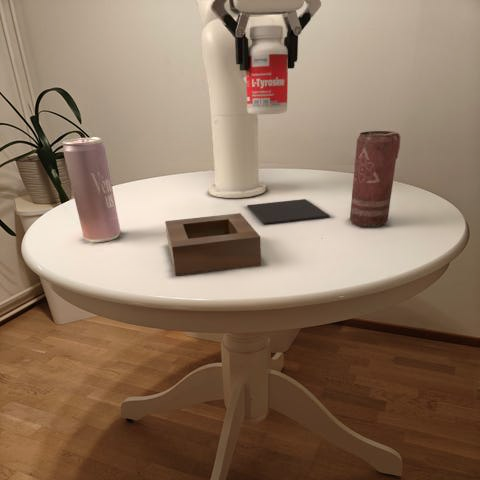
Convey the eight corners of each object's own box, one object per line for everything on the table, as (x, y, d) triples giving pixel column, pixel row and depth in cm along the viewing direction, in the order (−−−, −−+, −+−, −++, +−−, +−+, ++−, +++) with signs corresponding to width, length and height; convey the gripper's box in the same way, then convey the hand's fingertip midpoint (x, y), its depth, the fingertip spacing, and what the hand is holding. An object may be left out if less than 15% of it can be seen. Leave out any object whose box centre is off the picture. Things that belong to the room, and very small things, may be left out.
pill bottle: (248, 115, 62) (244, 25, 57) (246, 113, 68) (243, 30, 62) (289, 113, 62) (290, 22, 57) (285, 111, 68) (285, 28, 62)
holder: (168, 246, 65) (165, 221, 63) (241, 237, 67) (240, 212, 65) (175, 276, 55) (171, 246, 53) (261, 264, 57) (260, 236, 55)
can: (390, 228, 68) (404, 134, 61) (349, 227, 69) (358, 135, 62) (387, 217, 73) (399, 129, 66) (349, 216, 74) (357, 130, 67)
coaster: (247, 207, 82) (247, 205, 82) (305, 201, 85) (305, 199, 84) (263, 224, 72) (263, 222, 72) (329, 217, 74) (329, 215, 74)
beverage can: (105, 229, 74) (86, 136, 66) (128, 234, 71) (111, 138, 63) (76, 239, 70) (52, 141, 62) (99, 245, 66) (77, 143, 59)
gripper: (320, -87, 57) (313, 67, 67) (194, -89, 55) (205, 71, 64) (343, -106, 51) (331, 67, 61) (202, -109, 48) (212, 72, 58)
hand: (266, 68), depth 62 cm, fingers closed on pill bottle, 6 cm apart
